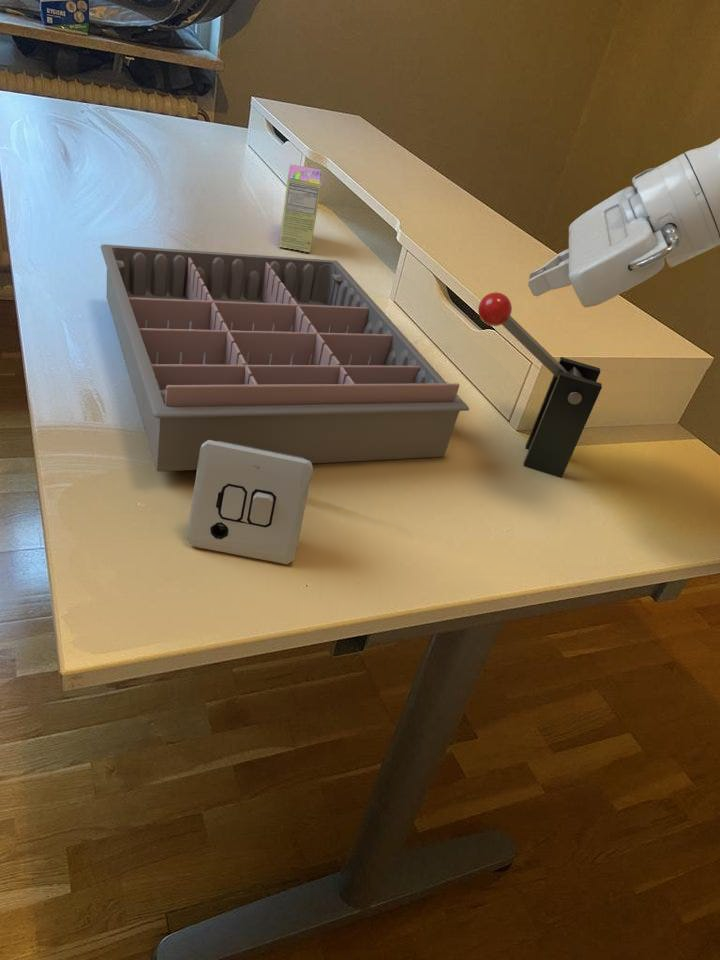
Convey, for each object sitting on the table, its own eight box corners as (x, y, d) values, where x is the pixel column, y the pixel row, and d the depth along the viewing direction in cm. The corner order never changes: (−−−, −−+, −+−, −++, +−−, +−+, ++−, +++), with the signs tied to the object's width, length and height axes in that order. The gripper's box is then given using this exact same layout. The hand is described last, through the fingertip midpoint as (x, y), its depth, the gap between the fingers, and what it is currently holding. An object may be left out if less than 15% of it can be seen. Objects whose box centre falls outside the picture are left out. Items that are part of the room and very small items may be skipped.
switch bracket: (485, 476, 81) (523, 374, 74) (492, 434, 90) (527, 338, 82) (591, 509, 80) (640, 408, 73) (589, 463, 89) (633, 369, 82)
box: (280, 229, 136) (290, 163, 130) (311, 235, 137) (322, 169, 130) (277, 248, 128) (287, 177, 121) (309, 254, 129) (321, 184, 122)
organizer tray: (327, 312, 109) (340, 246, 104) (450, 471, 81) (476, 391, 75) (99, 303, 96) (100, 227, 91) (149, 489, 68) (154, 395, 62)
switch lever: (469, 314, 76) (493, 291, 74) (473, 304, 79) (496, 281, 77) (571, 411, 79) (596, 391, 77) (571, 398, 81) (595, 378, 80)
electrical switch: (183, 547, 62) (195, 451, 58) (197, 515, 67) (209, 424, 62) (293, 568, 63) (312, 475, 59) (299, 535, 68) (318, 446, 63)
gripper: (698, 278, 61) (541, 350, 67) (670, 221, 78) (547, 283, 84) (669, 208, 59) (510, 290, 65) (646, 165, 75) (522, 233, 82)
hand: (530, 285), depth 74 cm, fingers closed
